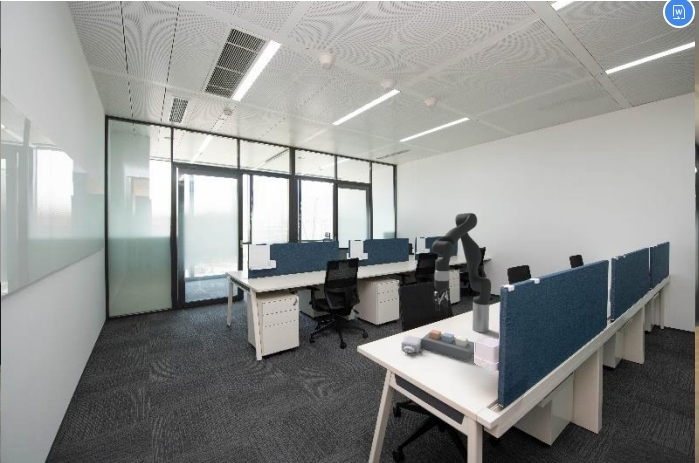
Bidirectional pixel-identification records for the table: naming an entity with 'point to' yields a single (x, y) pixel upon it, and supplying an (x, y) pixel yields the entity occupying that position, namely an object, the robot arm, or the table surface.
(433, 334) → the key terracotta
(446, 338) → the light blue cube
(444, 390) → the table surface
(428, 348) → the keypad
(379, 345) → the table surface
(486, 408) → the table surface
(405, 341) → the charger
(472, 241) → the robot arm
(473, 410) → the table surface
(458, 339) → the key ivory
